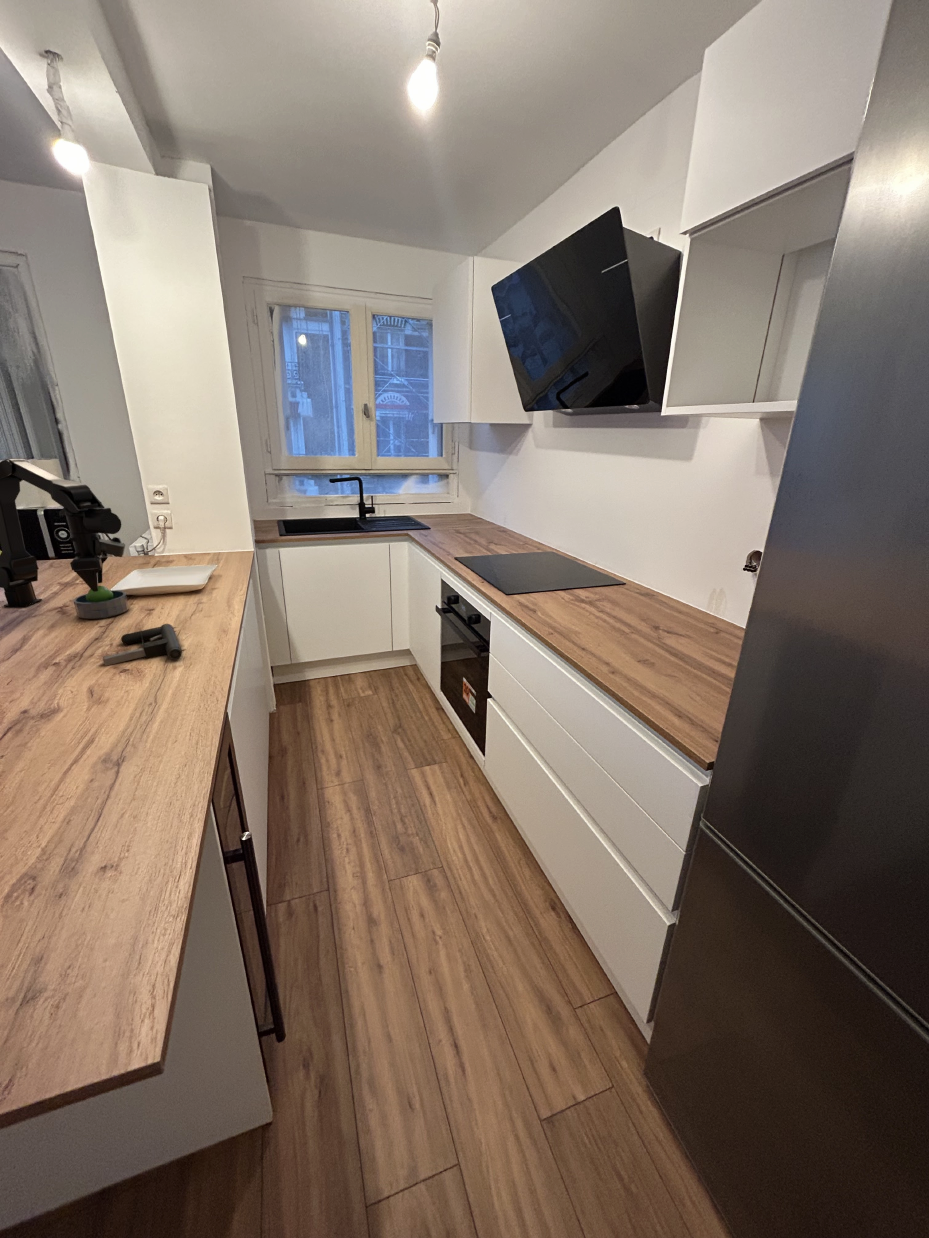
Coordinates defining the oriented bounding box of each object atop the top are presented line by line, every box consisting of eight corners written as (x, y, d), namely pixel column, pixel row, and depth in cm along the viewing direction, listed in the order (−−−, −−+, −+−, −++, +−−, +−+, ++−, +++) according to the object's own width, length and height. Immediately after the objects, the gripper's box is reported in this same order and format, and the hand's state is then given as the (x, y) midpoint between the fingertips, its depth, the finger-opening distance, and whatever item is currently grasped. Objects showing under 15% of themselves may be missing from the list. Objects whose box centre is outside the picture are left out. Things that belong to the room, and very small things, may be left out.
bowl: (96, 606, 146) (92, 590, 144) (138, 606, 146) (134, 590, 144) (67, 620, 134) (62, 603, 132) (112, 620, 135) (107, 603, 133)
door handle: (101, 665, 103) (186, 645, 111) (101, 636, 118) (175, 620, 127) (106, 679, 104) (189, 658, 113) (105, 648, 119) (179, 631, 128)
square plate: (219, 573, 183) (217, 563, 181) (207, 594, 158) (205, 582, 157) (136, 577, 175) (134, 567, 173) (110, 600, 150) (107, 588, 149)
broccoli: (88, 615, 136) (81, 589, 134) (91, 610, 141) (84, 584, 138) (116, 612, 139) (109, 586, 137) (117, 606, 143) (111, 582, 141)
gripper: (115, 535, 128) (129, 592, 133) (122, 524, 143) (134, 575, 149) (62, 538, 123) (78, 597, 128) (75, 527, 138) (89, 580, 143)
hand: (98, 587), depth 137 cm, fingers open, 9 cm apart
